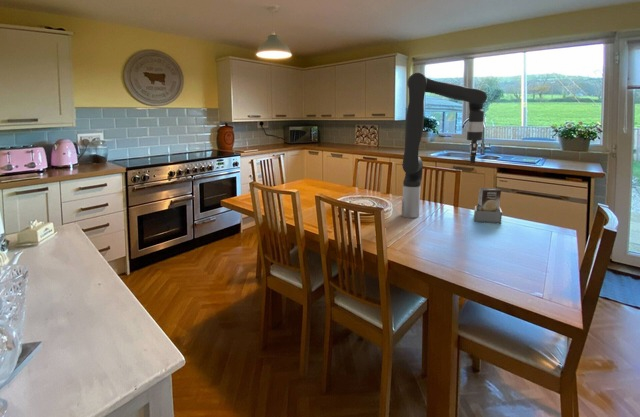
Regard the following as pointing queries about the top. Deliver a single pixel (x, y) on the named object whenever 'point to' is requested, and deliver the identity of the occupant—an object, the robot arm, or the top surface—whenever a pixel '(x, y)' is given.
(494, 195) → the coffee box
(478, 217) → the bin
